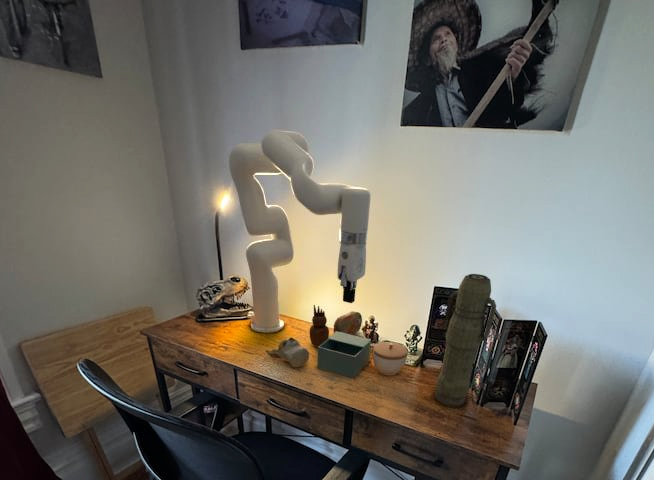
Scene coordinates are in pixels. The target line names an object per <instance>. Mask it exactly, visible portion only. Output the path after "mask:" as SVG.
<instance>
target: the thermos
mask: <svg viewBox="0 0 654 480" xmlns="http://www.w3.org/2000/svg"><path fill="white" fill-rule="evenodd" d="M491 294H492V282H491V279H490V278H489V277H488V276H487V275H483V274H479V273H469V274H467V275H465V276H464V277H463V279H462V281H461V282H460V284H459V286H458V290H456V291H453V292H451V294H450V295H449V296H448V298H447V305H446V311H445V317H444V322H443V328H444V329H445V331H446V336H445V342H446V345H445V350H444V355H443V359H442V360H443V361H442V364H441V369H440V373H439V375H438V376H437V378H436V384H435V392H434V398H435V400H436V401H437V402H438V403H440V404H442V405H444V406H448V407H461V406H463V405H464V404H465V402H466V399H467V396H468V393H469V390H470V386H471V374H472V369H473V366H474V362H475V358H476V355H477V351H478V349H479V347H480V346H481V343H482V342H486V341H487V340H488V337H489V335H490V331H491V327H492V323H493V319H494V317H495V312H496V309H497V304H496V301H495V299H493V298H492V297H491ZM455 298H456V300H455ZM454 303H455V304H454ZM454 305H455V306H454ZM489 305H490V311H489V314H488V320H487V323H486V326H485V317H486V314H485V313H486V311H488V306H489ZM454 307H455V309H453V308H454ZM452 312H453V314H452Z"/></svg>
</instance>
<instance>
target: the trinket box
mask: <svg viewBox="0 0 654 480" xmlns="http://www.w3.org/2000/svg"><path fill="white" fill-rule="evenodd" d="M372 351H373V353H372V361H373V364H374V366H375V368H376V369H377V371H378V372H379V374H381V375H384V376H394V375H397V374H398V373H399V372H400V371H402V370H403V369H404V367H405V365H406V362H407V359H408V355H409V350H408V348H407V347H406V346H405V345H404V344H401V343H399V342H394V341H381V342H378V343H376V344H375V345H373V349H372Z"/></svg>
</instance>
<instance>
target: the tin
mask: <svg viewBox="0 0 654 480" xmlns="http://www.w3.org/2000/svg"><path fill="white" fill-rule="evenodd" d="M362 324H363V317H362V313H360V312H359V311H349V312H347V313H345V314H343V315H341V316H339V317H337V318H336V319H335V321H334V323H333V334H334V333H335V332H336V331H337V332H342V333H346V334H350V335H354V336H355V335H356V334H357V333H359V332H360V329H361V327H362Z"/></svg>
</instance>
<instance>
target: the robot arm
mask: <svg viewBox="0 0 654 480" xmlns="http://www.w3.org/2000/svg"><path fill="white" fill-rule="evenodd" d="M309 147H310V146H309V143H308V141H307V139H306V137H304V135H302V134H301V133H300V132H297V131H288V130H279V129H275V130H274V129H273V130H269V131H268V132H267V133H265V134H264V136H263V137H262V139H261V142H260V143H259V142H241V143H238V144H236V145H234V146H233V147H232V149H231V151H230V153H229V155H228V157H229V158H228V167H229V172H230V176H231V179H232V182H233V185H234V186H235V189H236V192H237V196H238V201H239V207H240V210H241V217H242V220H243V225H244V229H245V231H246V233H247V234H248V235H249V236H251V237H267V236H271V239H262V240H256V241H254V242H251V243H250V244H249V245H248V246H247V247H246V250H245V257H246V261H247V265H248V269H249V274H250V282H251V294H252V295H251V296H252V308H253V311H250V310H249V311H248V312H247V315H246V318H247V319H249V320H251V323H250V328H251V329H252V330H253V331H255V332H257V333H264V334H267V333H275V332H279V331H281V330H282V329H283V328H284V326H285V323H284V321H283V320H281V318H280V298H279V297H280V295H279V294H280V293H279V281H278V277H277V276H276V274H275V272H274V271H273V269H274V268H279V267H283V266H287V265H289V264H291V263H292V261H293V259H294V253H295V252H294V245H293V238H292V231H291V226H290V220H289V217H288V214H287V212H286V210H284V208H283V207H282V206H280V205H277V204H267V201H266V196H265V191H264V188H263V187H262V185H261V183H260V182H259V180H258V179H257V178H256V177H255V175H261V176H262V175H263V176H265V175H272V176H273V175H281V174H283V175H284V176H285V177H286V178H287V179H288V180H289V181H290V188H291V192H292V194H293V196H294V198H295V199H296V200H297V202H298V203H300V204H301V206H302V207H304V208H305V209H306V210H307V211H309V212H310V213H312V214H313V215H315V216H326V215H327V216H329V215H339V214H340V223H339V224H340V225H339V242H338V243H339V244H340V245H339V252H338V262H337V275H336V276H337V280H339V281H340V283H339V285H340V287H342V290H343V291H342V302H344V303H349V304H354V303H355V300H356V288H357V285H358V284H357V283H358V281H359V280H360V279H362V278H364V276H365V275H366V268H367V267H366V264H367V240H368V230H369V219H370V208H371V196H372V195H371V191H370V190H369V189H368V188H365V187H359V186H351V185H348V184H346V183H331V182H330V183H319V182H317V181H316V180H314V179H313V178H312V175H313V172H314V168H315V164H314V162H315V161H314V159H313V157H312V156H311V155H310V148H309Z"/></svg>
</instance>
